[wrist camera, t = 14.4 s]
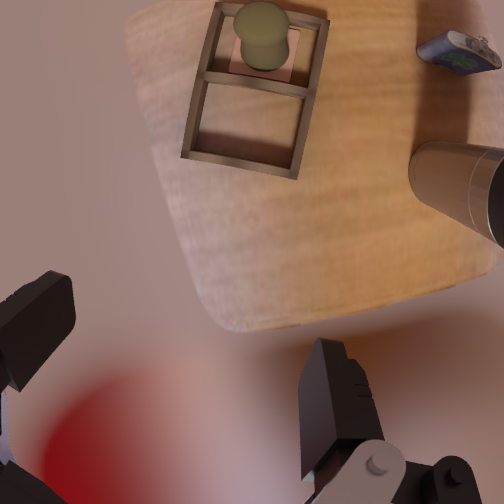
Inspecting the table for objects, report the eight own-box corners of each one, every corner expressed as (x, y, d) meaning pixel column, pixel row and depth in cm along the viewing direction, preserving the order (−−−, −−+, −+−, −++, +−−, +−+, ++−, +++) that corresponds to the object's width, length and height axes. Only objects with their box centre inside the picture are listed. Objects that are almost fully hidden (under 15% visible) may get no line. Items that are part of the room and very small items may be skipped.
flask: (415, 58, 28) (456, 39, 18) (415, 41, 27) (453, 18, 17) (467, 79, 28) (512, 70, 18) (466, 62, 27) (510, 50, 17)
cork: (240, 30, 29) (227, -7, 19) (289, 30, 29) (293, -8, 18) (240, 72, 31) (225, 45, 21) (289, 72, 31) (295, 45, 21)
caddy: (327, 27, 28) (330, 20, 26) (295, 177, 36) (296, 180, 33) (219, 9, 28) (215, 2, 26) (186, 156, 36) (180, 157, 33)
